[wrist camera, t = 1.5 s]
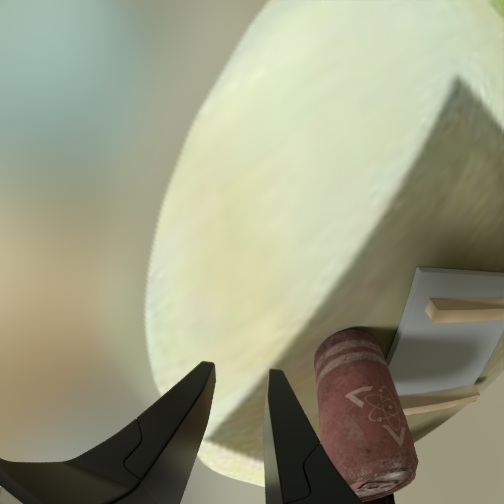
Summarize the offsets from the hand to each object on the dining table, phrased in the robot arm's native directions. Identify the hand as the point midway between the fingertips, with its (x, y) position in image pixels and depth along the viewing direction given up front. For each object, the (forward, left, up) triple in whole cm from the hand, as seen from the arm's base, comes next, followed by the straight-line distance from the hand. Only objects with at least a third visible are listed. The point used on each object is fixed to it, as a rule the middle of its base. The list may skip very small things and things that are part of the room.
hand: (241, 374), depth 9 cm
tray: (-10, -20, -13) cm, 26 cm away
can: (-10, -8, -13) cm, 18 cm away
